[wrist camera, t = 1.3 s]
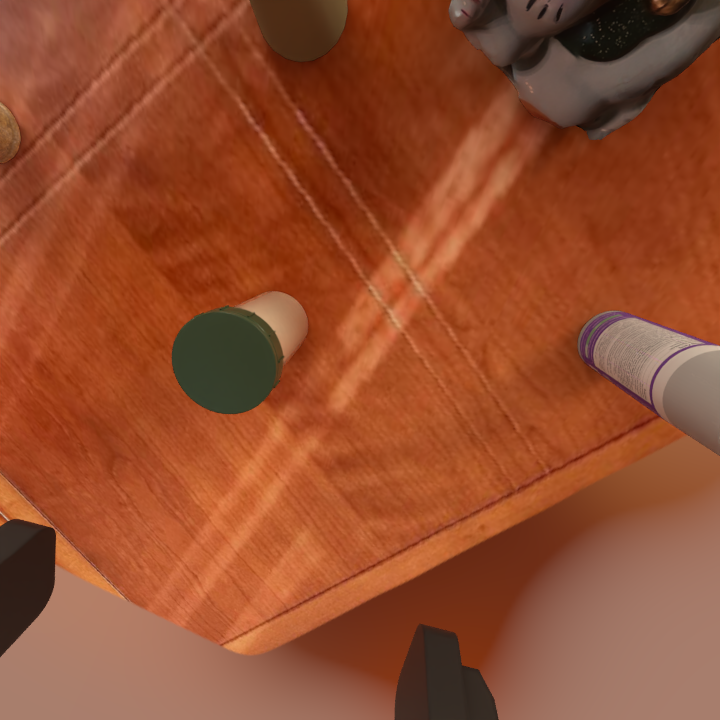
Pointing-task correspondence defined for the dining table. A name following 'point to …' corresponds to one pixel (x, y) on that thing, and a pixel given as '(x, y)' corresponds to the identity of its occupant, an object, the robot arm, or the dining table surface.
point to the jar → (281, 319)
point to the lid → (227, 360)
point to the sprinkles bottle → (8, 134)
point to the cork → (301, 26)
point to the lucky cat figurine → (588, 52)
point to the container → (658, 370)
